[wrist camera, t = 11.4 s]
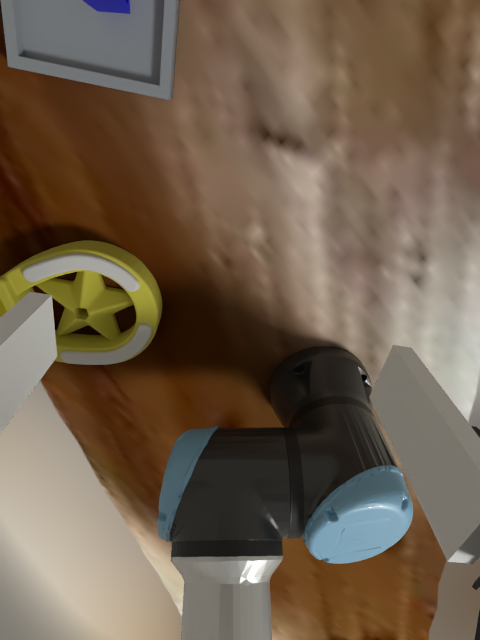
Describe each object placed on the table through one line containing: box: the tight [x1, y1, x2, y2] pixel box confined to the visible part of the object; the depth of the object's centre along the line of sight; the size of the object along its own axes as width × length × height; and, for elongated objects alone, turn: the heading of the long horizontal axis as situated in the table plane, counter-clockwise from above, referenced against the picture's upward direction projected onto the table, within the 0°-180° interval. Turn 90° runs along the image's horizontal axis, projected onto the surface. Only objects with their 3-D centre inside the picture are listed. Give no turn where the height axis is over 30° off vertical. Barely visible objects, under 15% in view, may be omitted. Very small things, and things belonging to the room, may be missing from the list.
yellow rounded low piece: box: [0, 240, 162, 365], centre depth 46 cm, size 16×21×5 cm
